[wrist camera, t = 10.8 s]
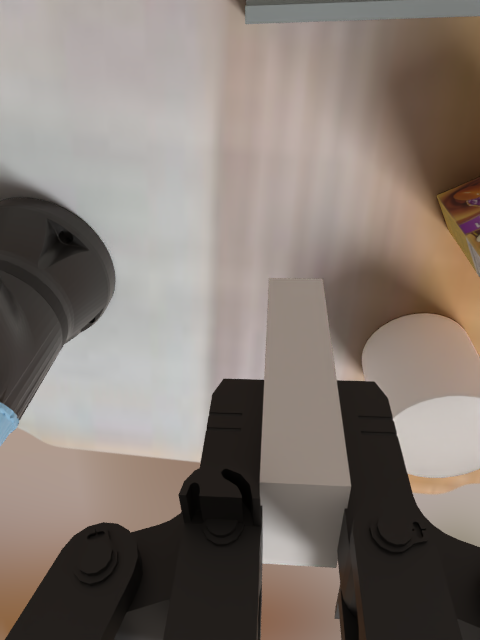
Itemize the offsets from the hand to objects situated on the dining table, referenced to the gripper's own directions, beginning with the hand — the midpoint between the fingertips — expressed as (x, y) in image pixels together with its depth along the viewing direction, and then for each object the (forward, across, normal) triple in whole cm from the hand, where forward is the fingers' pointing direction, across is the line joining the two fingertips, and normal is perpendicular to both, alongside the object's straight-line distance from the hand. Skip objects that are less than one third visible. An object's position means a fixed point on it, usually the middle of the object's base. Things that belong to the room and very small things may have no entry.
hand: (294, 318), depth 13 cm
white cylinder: (+30, +15, -26) cm, 42 cm away
